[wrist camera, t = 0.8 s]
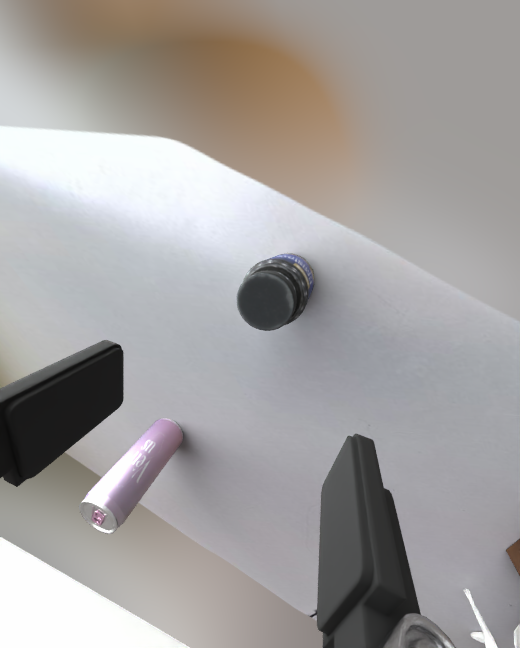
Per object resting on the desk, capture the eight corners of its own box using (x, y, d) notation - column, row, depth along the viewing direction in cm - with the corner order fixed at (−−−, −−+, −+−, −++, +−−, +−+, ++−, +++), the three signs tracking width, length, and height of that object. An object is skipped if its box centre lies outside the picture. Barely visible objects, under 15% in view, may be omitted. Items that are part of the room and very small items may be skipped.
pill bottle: (325, 270, 27) (321, 290, 17) (297, 313, 30) (279, 353, 20) (278, 242, 28) (247, 247, 18) (254, 288, 30) (216, 314, 20)
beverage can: (152, 430, 45) (74, 514, 31) (161, 410, 42) (81, 493, 29) (178, 448, 45) (111, 541, 31) (189, 429, 42) (122, 522, 29)
